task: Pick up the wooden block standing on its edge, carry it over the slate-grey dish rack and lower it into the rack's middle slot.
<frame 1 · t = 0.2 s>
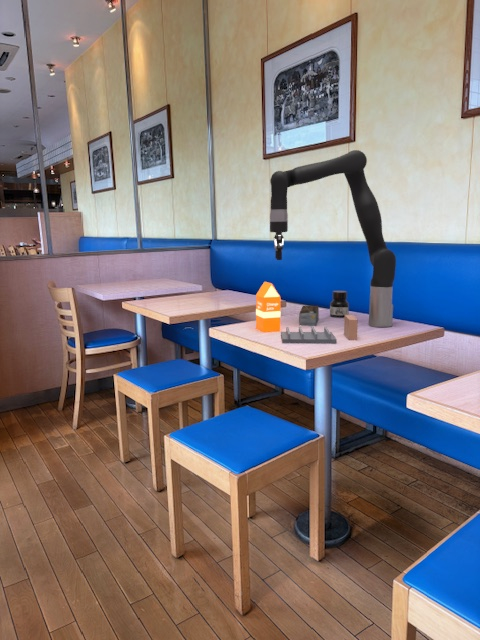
hand: (278, 259, 206), 29 cm above the table, tool pointing down, fingers open, 8 cm apart
weathered grey box: (309, 322, 219), on the table
wooden block: (350, 337, 188), on the table
rack: (307, 339, 185), on the table
ink bottle: (339, 316, 232), on the table
orange juice: (267, 330, 202), on the table
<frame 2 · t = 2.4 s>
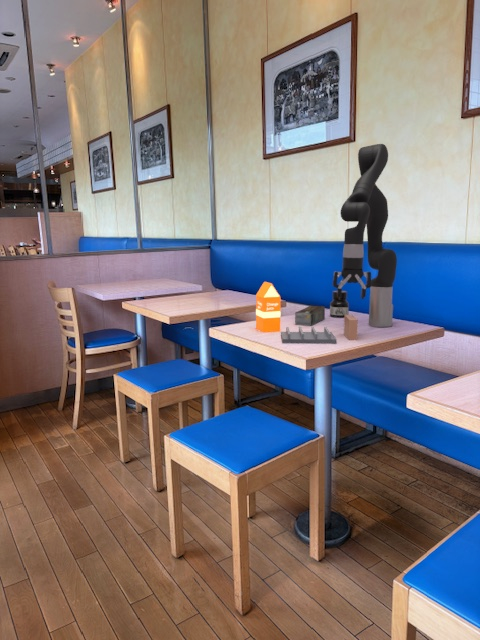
hand: (351, 298, 185), 15 cm above the table, tool pointing down, fingers open, 8 cm apart
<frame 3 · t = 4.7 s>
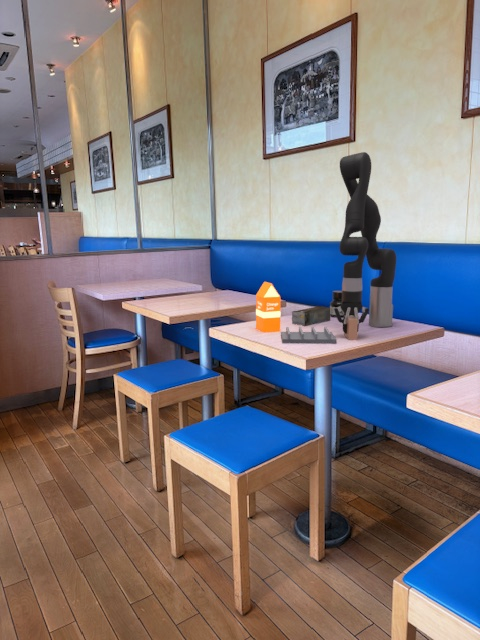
hand: (350, 332, 188), 2 cm above the table, tool pointing down, fingers closed on wooden block, 3 cm apart
wooden block: (350, 337, 188), on the table, touching gripper
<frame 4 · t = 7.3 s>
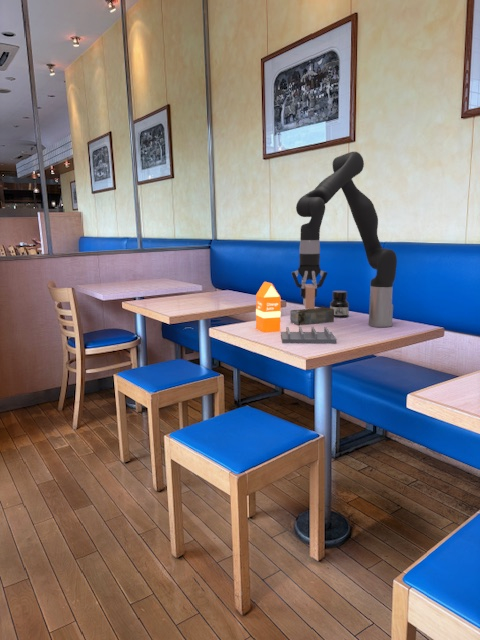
hand: (308, 298, 182), 16 cm above the table, tool pointing down, fingers closed on wooden block, 3 cm apart
wooden block: (308, 306, 182), point 13 cm above the table, touching gripper
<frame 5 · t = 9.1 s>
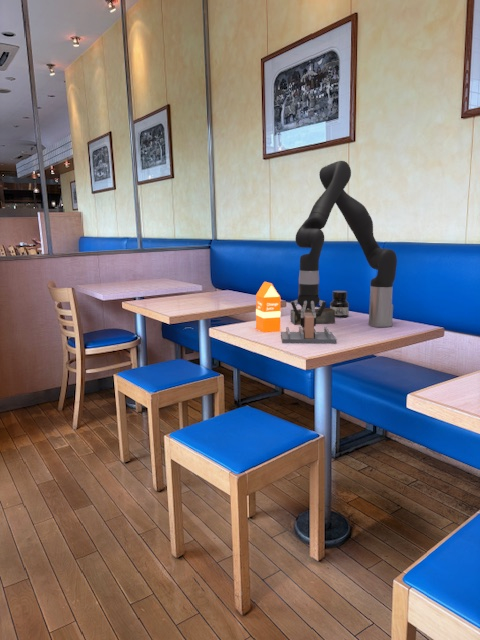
hand: (307, 326, 184), 5 cm above the table, tool pointing down, fingers closed on wooden block, 3 cm apart
wooden block: (307, 335, 184), point 2 cm above the table, touching gripper
when the fingers open (5 cm above the table, at t = 10.0 s): wooden block stays where it is, resting on rack.
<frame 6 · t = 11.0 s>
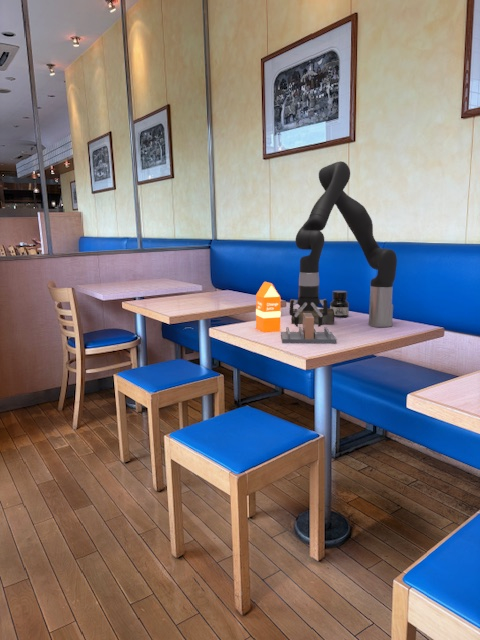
hand: (307, 326, 184), 5 cm above the table, tool pointing down, fingers open, 8 cm apart
wooden block: (307, 335, 184), point 1 cm above the table, touching rack
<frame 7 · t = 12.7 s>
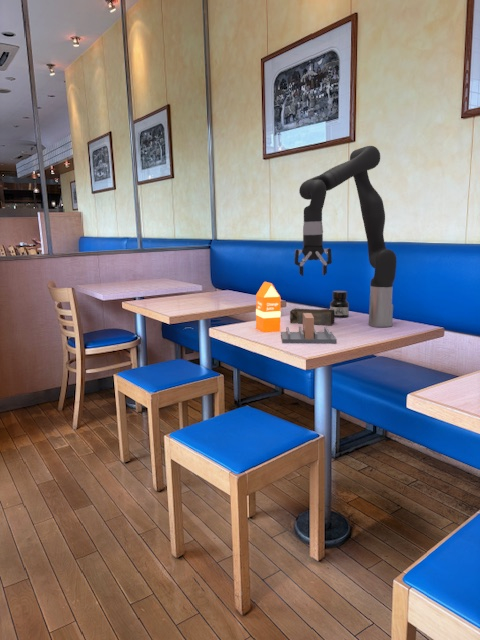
hand: (313, 275, 189), 24 cm above the table, tool pointing down, fingers open, 8 cm apart
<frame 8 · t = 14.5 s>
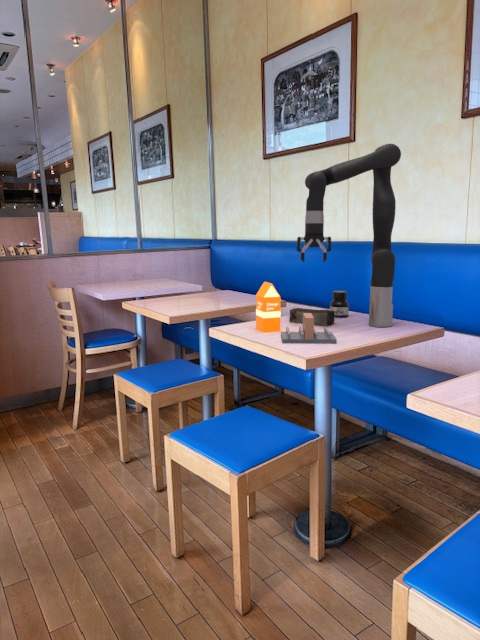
hand: (313, 261, 201), 28 cm above the table, tool pointing down, fingers open, 8 cm apart
at the end: wooden block inside the target area on the rack (0.7 cm from its centre), point 1.5 cm above the rack's base; wooden block tilted 0°; the gripper is holding nothing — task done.
